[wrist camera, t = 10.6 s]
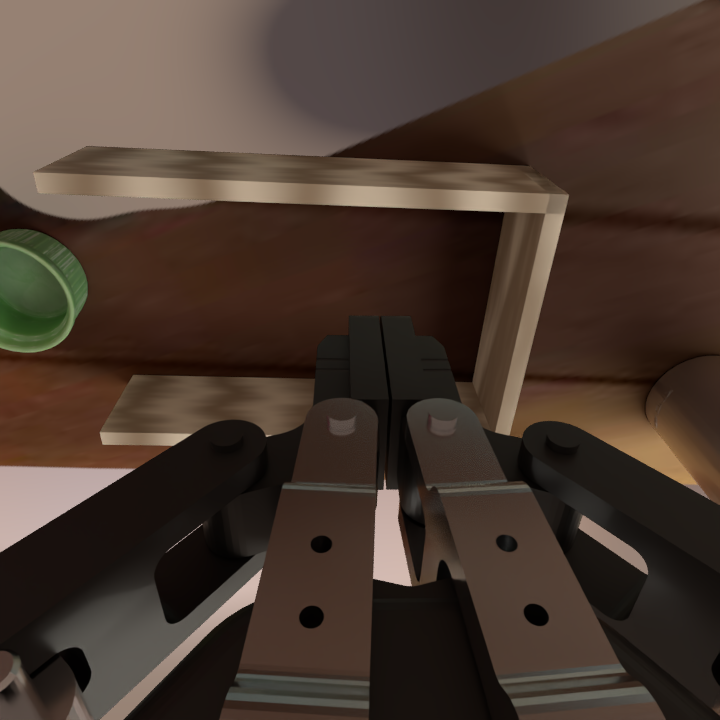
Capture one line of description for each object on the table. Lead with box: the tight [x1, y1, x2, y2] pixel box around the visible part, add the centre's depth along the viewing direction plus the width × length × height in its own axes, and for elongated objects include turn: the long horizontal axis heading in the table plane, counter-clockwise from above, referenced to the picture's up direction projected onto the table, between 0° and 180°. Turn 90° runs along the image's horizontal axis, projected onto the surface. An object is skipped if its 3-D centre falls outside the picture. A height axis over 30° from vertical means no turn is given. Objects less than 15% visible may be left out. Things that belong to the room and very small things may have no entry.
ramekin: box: [0, 229, 88, 352], centre depth 41 cm, size 9×9×4 cm
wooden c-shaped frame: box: [33, 146, 569, 446], centre depth 41 cm, size 32×20×8 cm, turn 87°
